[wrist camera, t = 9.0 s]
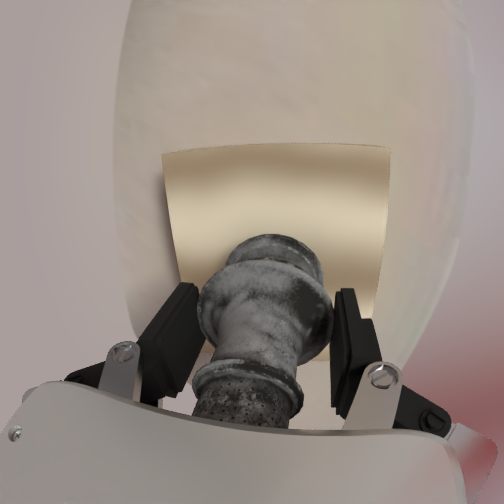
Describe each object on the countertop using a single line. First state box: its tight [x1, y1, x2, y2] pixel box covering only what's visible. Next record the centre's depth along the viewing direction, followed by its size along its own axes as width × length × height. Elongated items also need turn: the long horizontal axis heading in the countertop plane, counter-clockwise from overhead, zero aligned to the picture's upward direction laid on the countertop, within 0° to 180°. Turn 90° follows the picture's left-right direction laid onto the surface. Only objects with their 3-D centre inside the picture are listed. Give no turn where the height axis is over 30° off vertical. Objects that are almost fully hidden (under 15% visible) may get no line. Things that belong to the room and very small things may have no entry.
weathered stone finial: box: [192, 234, 335, 429], centre depth 9 cm, size 6×6×12 cm
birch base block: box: [162, 143, 390, 361], centre depth 17 cm, size 14×12×3 cm
